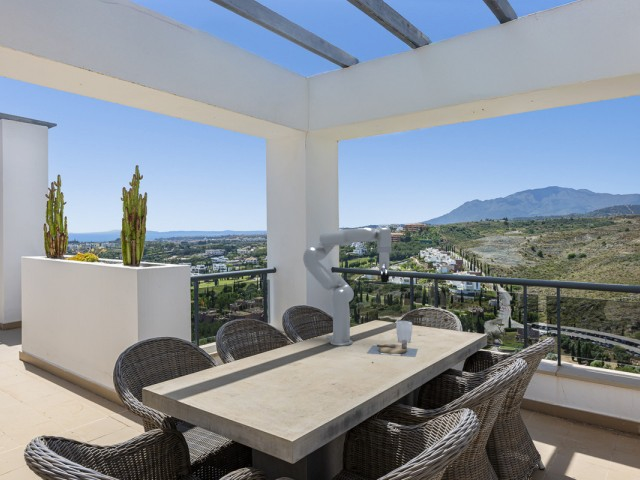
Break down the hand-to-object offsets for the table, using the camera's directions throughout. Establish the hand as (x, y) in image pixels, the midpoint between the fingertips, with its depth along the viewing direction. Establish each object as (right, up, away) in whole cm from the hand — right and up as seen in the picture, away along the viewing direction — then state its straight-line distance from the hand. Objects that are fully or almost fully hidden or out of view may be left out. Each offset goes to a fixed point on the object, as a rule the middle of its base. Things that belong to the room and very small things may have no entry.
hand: (385, 281), depth 235 cm
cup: (+12, -36, +8) cm, 39 cm away
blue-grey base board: (+2, -36, -15) cm, 39 cm away
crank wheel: (+2, -34, -15) cm, 37 cm away
